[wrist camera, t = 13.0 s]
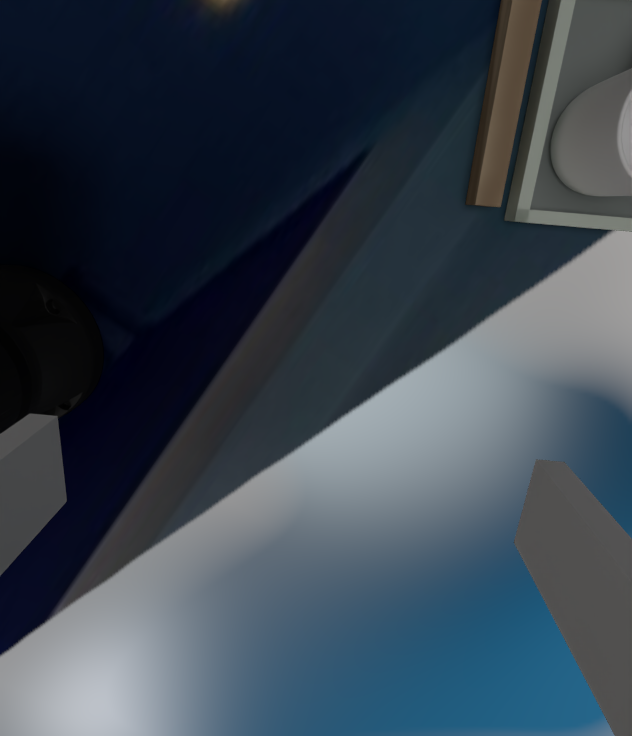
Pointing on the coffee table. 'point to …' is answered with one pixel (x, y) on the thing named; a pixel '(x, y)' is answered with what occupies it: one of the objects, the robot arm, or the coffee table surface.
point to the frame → (550, 98)
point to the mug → (596, 139)
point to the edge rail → (502, 100)
